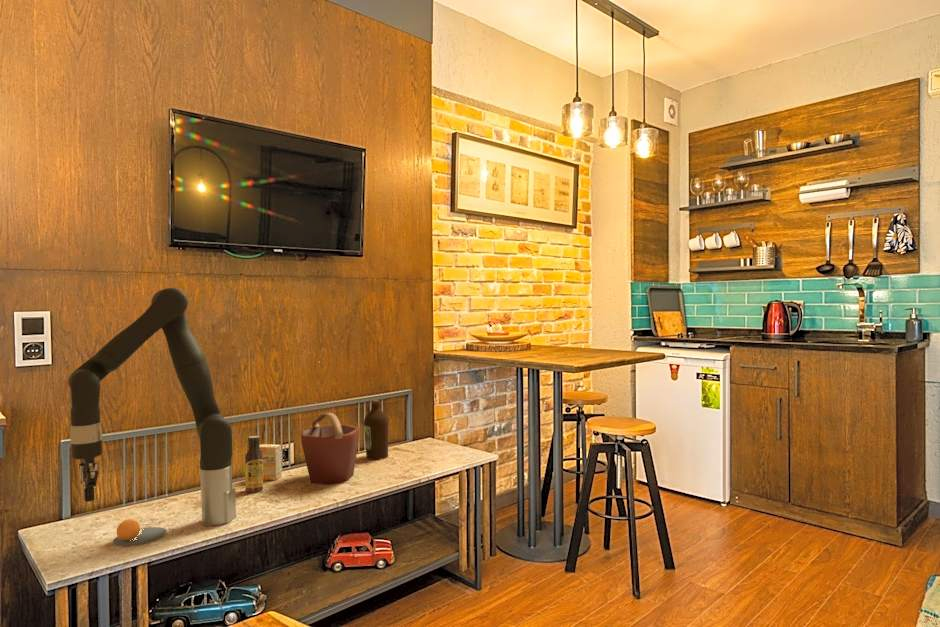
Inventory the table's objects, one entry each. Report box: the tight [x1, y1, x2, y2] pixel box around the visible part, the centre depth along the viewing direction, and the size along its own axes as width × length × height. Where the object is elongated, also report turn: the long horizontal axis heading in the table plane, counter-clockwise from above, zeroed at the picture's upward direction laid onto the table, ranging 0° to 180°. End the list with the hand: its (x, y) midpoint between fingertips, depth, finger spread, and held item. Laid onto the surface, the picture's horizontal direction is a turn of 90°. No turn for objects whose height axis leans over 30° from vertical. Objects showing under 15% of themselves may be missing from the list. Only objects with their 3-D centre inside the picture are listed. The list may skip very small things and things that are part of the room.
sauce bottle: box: [244, 435, 264, 493], centre depth 220 cm, size 7×6×20 cm
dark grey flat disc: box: [112, 526, 168, 547], centre depth 179 cm, size 14×14×1 cm
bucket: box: [300, 412, 360, 486], centre depth 234 cm, size 24×22×25 cm
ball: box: [116, 518, 141, 541], centre depth 177 cm, size 6×6×6 cm
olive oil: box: [363, 399, 389, 461], centre depth 263 cm, size 11×11×25 cm
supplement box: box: [259, 443, 283, 481], centre depth 235 cm, size 8×5×13 cm, turn 81°
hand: (89, 500), depth 170 cm, fingers closed
